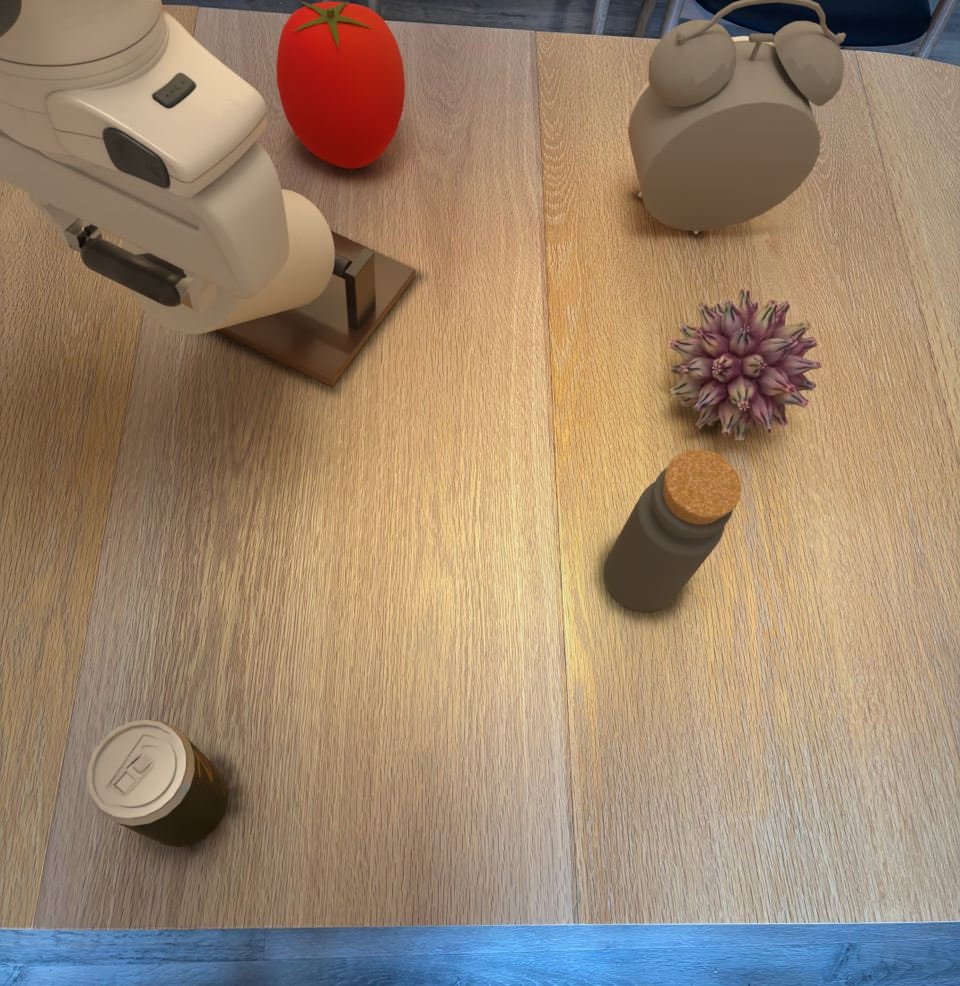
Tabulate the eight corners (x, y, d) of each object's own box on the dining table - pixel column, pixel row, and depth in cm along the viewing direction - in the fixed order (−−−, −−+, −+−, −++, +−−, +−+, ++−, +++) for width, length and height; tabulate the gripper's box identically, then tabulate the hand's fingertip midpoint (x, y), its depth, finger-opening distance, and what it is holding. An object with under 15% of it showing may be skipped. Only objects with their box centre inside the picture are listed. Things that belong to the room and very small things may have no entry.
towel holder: (244, 275, 73) (269, 170, 69) (337, 320, 72) (368, 214, 68) (49, 312, 53) (69, 168, 50) (173, 374, 52) (203, 231, 48)
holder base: (282, 215, 79) (272, 148, 72) (415, 276, 77) (417, 213, 70) (189, 318, 73) (169, 254, 66) (332, 387, 71) (325, 329, 64)
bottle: (669, 624, 63) (742, 538, 50) (594, 597, 64) (646, 506, 51) (685, 556, 66) (758, 458, 53) (613, 531, 67) (667, 428, 53)
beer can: (187, 867, 53) (135, 846, 42) (124, 812, 54) (58, 779, 44) (247, 793, 55) (213, 756, 45) (186, 742, 56) (138, 695, 46)
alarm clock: (758, 182, 87) (862, -38, 68) (782, 246, 83) (900, 31, 64) (600, 184, 85) (661, -42, 65) (617, 250, 81) (687, 29, 61)
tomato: (262, 124, 84) (240, -19, 72) (364, 90, 88) (359, -51, 76) (323, 207, 80) (311, 70, 68) (428, 168, 84) (434, 31, 71)
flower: (787, 461, 73) (670, 474, 68) (733, 346, 78) (621, 351, 73) (880, 384, 63) (752, 393, 59) (813, 258, 68) (689, 258, 64)
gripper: (-151, 14, 40) (-33, 235, 52) (215, 188, 38) (251, 379, 50) (-49, -45, 43) (40, 176, 55) (295, 111, 41) (311, 309, 53)
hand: (142, 273), depth 52 cm, fingers closed on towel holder, 7 cm apart
